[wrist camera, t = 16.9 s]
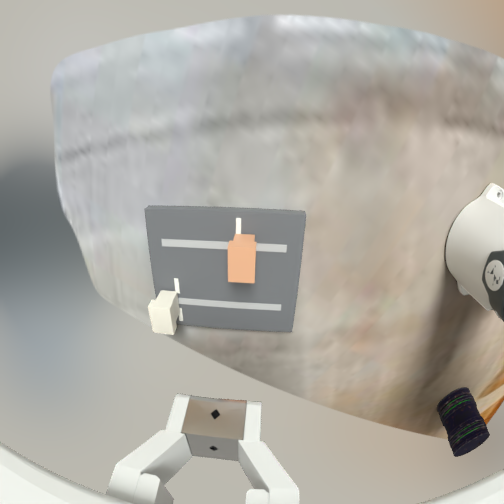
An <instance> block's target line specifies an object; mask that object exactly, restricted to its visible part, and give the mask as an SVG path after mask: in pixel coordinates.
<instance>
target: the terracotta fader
mask: <svg viewBox="0 0 504 504" xmlns="http://www.w3.org/2000/svg"><path fill="white" fill-rule="evenodd" d="M255 268H256V242H255V235H252V234H235V236H234V239H233V241H229V244H228V282H239V283H255Z"/></svg>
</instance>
